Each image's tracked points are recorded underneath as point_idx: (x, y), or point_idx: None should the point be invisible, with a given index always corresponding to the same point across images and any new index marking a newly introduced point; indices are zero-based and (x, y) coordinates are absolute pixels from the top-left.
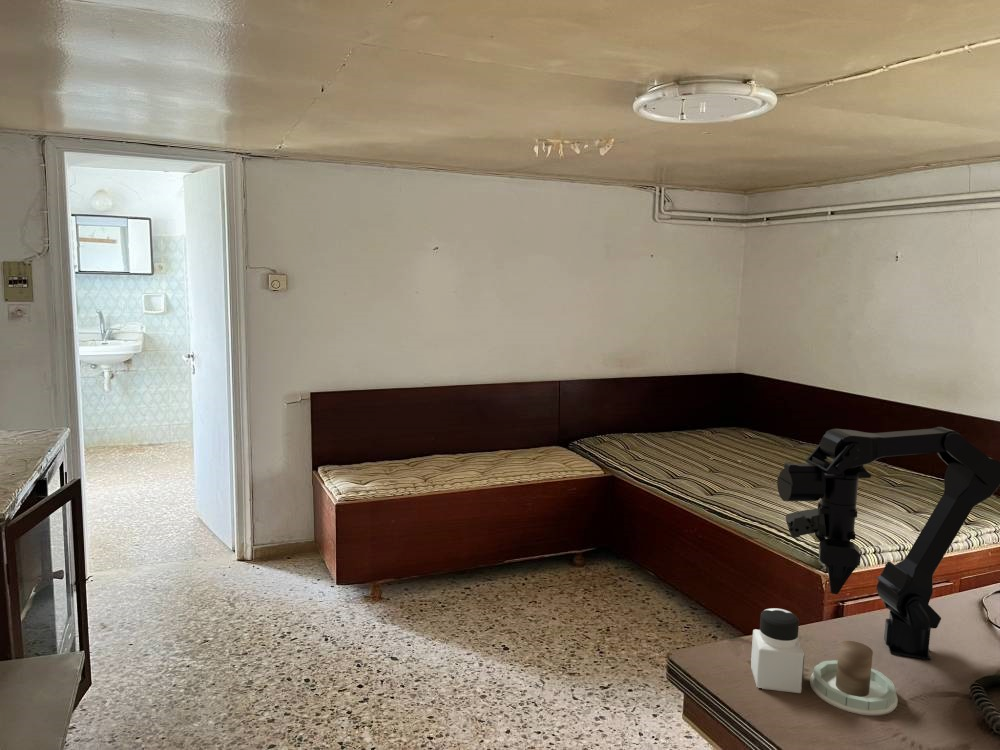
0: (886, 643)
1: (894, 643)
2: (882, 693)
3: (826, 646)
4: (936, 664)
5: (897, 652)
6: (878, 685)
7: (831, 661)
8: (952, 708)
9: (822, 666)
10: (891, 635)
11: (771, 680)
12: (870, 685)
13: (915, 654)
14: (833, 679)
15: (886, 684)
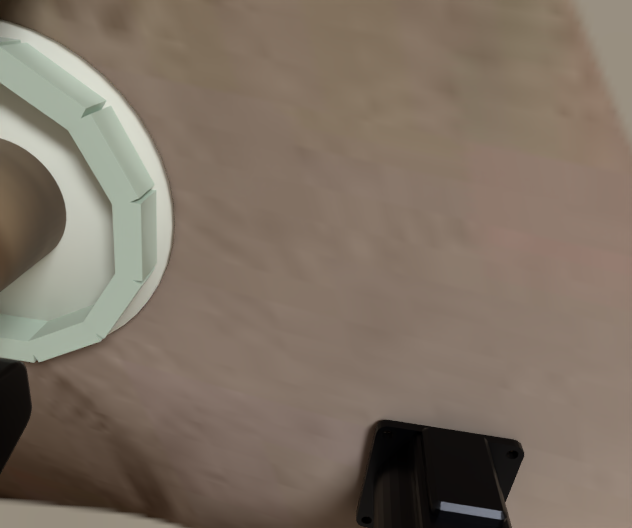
0: (426, 431)
1: (410, 459)
2: (18, 304)
3: (396, 180)
4: (338, 521)
5: (373, 443)
6: (74, 307)
7: (105, 156)
8: (62, 470)
9: (30, 96)
10: (418, 475)
11: None
12: (57, 278)
13: (370, 492)
14: (36, 137)
15: (23, 336)
